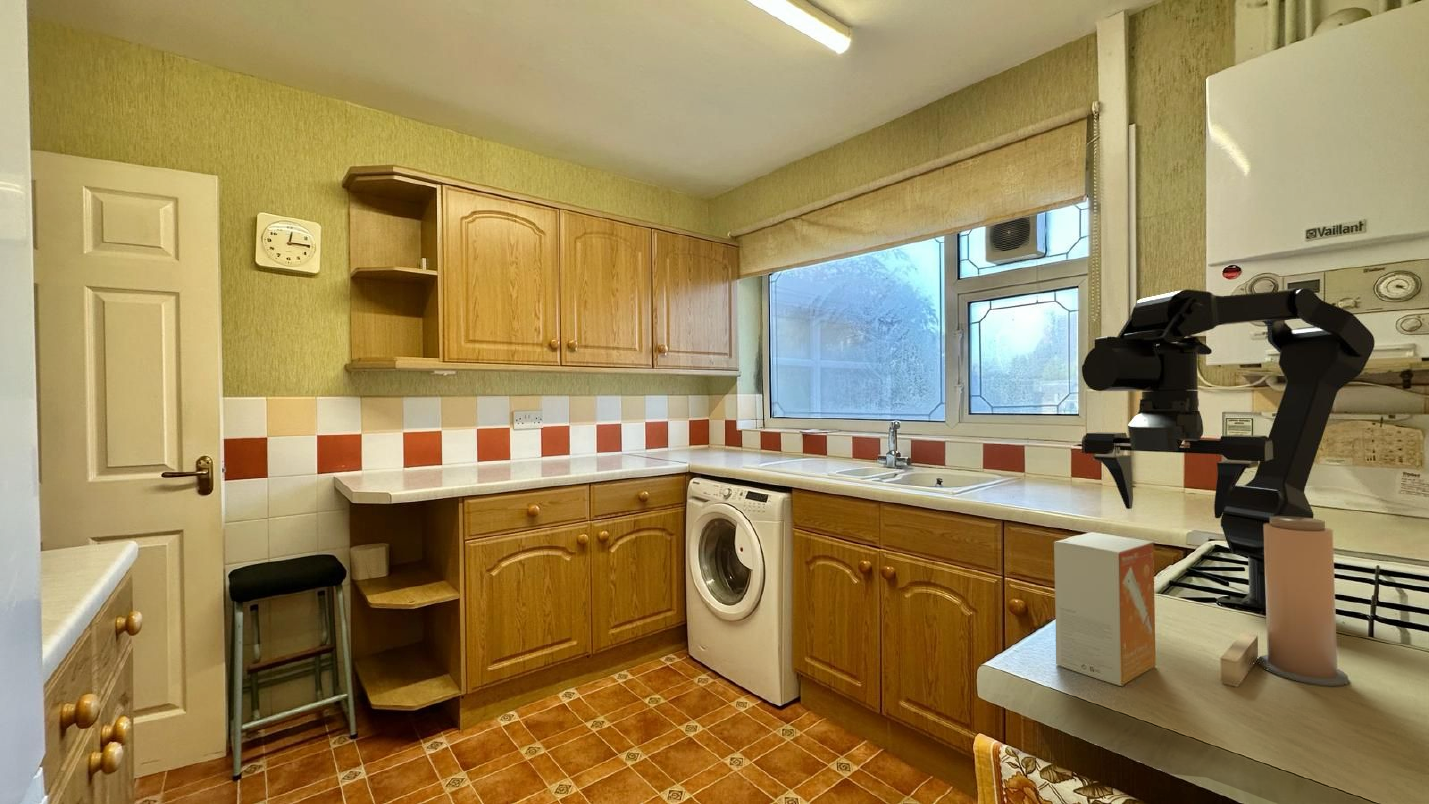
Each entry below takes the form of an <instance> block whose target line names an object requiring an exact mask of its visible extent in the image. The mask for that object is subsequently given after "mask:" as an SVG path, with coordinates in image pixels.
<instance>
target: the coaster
mask: <svg viewBox="0 0 1429 804" xmlns="http://www.w3.org/2000/svg"><path fill="white" fill-rule="evenodd" d="M1257 661H1259V662H1258V664H1259V663H1260V665H1261V666H1262V667H1263V668H1265V669H1268V670H1269V671H1271V672H1273V673H1275V674H1274V675H1276V674H1277V675H1276V676H1278V675H1280V676H1279V677H1281V676H1282V678H1284V677H1287V678H1290V679H1289V680H1291V679H1294V680H1296V681H1295V682H1298V681H1301V682H1300V683H1303V682H1305V683H1304V684H1308V683H1309V685H1313V684H1314V685H1316V686H1319V687H1321V686H1322V687H1323V686H1324V687H1342V686H1345V685H1344V684H1346V683H1347V682H1348V683H1349V676H1348V674H1346V673H1345V672H1344V671H1342V670H1341V669H1338V668H1337V672H1338V675H1337V676H1336V677H1334V678H1315V677H1308V676H1303V675H1298V674H1294V673H1291V672H1287V671H1284V670H1282V669H1279V668H1277V667H1275V666H1273V665H1271V664H1270V663H1269V662H1268V654H1264V655H1260V656H1258V659H1257ZM1260 665H1259V666H1260ZM1261 666H1260V667H1261ZM1262 667H1261V668H1262ZM1263 668H1262V669H1263ZM1265 669H1264V670H1265ZM1269 671H1268V672H1269ZM1271 672H1270V673H1271ZM1273 673H1272V674H1273ZM1287 678H1286V679H1287ZM1294 680H1293V681H1294ZM1297 680H1298V681H1297ZM1348 683H1347V684H1348ZM1347 684H1346V685H1347ZM1314 685H1313V686H1314Z"/></svg>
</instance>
